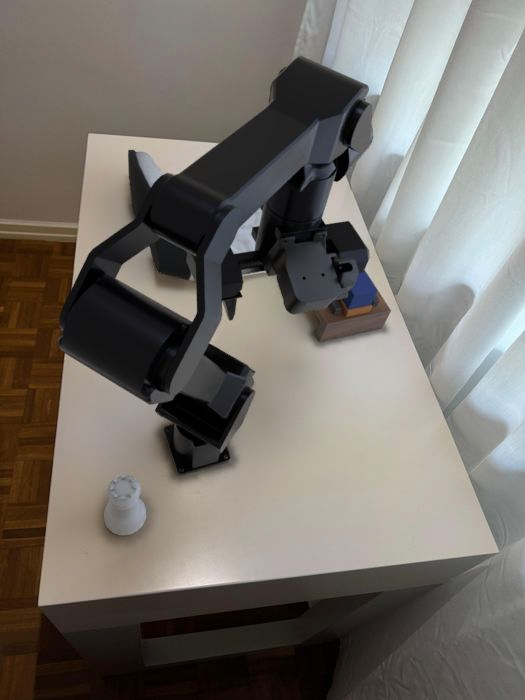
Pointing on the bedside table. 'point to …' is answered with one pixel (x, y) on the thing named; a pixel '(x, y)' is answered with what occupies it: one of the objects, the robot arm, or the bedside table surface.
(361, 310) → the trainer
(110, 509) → the rook chess piece
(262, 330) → the bedside table surface
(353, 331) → the brown piece
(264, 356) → the bedside table surface
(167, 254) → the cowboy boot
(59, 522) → the bedside table surface
